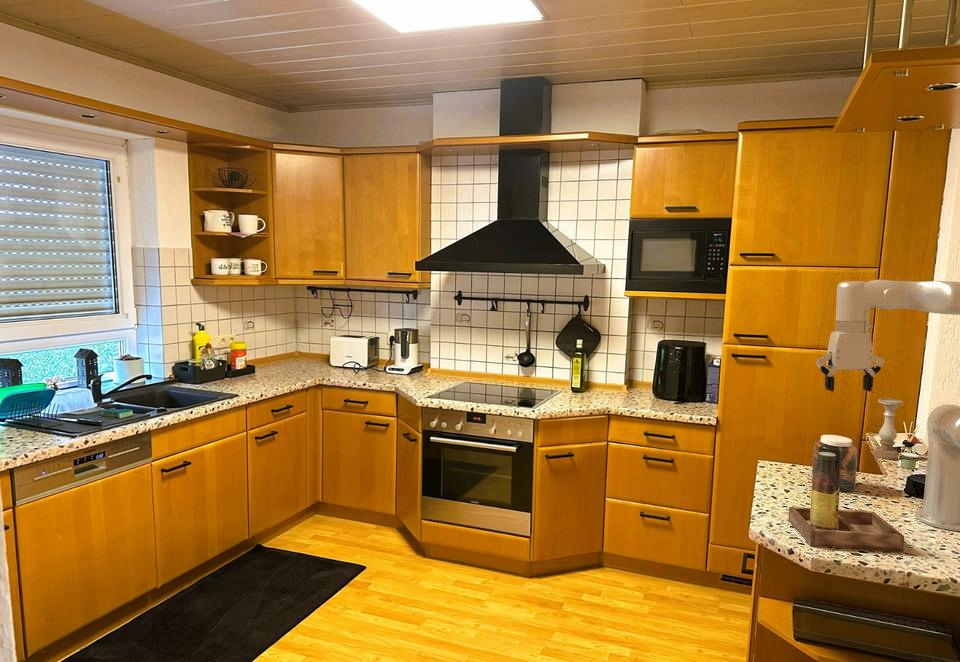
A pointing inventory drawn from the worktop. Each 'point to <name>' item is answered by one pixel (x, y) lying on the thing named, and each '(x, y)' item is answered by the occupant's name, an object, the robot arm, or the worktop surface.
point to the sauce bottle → (825, 494)
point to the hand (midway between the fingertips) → (848, 390)
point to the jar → (838, 459)
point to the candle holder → (888, 430)
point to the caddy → (849, 531)
